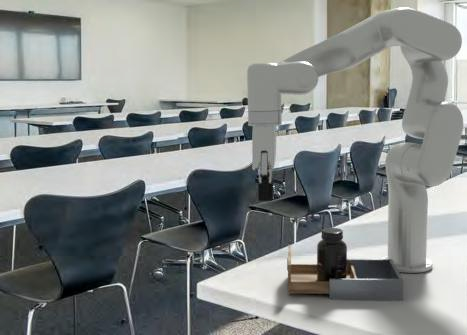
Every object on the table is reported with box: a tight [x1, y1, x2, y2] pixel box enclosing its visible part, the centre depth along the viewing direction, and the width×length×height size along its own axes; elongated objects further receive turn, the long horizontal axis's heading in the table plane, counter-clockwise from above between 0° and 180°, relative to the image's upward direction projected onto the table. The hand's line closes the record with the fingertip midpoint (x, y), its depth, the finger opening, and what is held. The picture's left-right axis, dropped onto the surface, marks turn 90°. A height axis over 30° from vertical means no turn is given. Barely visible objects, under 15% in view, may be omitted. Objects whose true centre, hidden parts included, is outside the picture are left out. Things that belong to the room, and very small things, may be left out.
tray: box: [286, 244, 357, 296], centre depth 135 cm, size 15×16×7 cm
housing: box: [328, 258, 405, 302], centre depth 134 cm, size 15×16×5 cm
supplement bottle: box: [316, 227, 348, 282], centre depth 134 cm, size 7×7×12 cm
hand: (266, 198), depth 134 cm, fingers open, 2 cm apart
